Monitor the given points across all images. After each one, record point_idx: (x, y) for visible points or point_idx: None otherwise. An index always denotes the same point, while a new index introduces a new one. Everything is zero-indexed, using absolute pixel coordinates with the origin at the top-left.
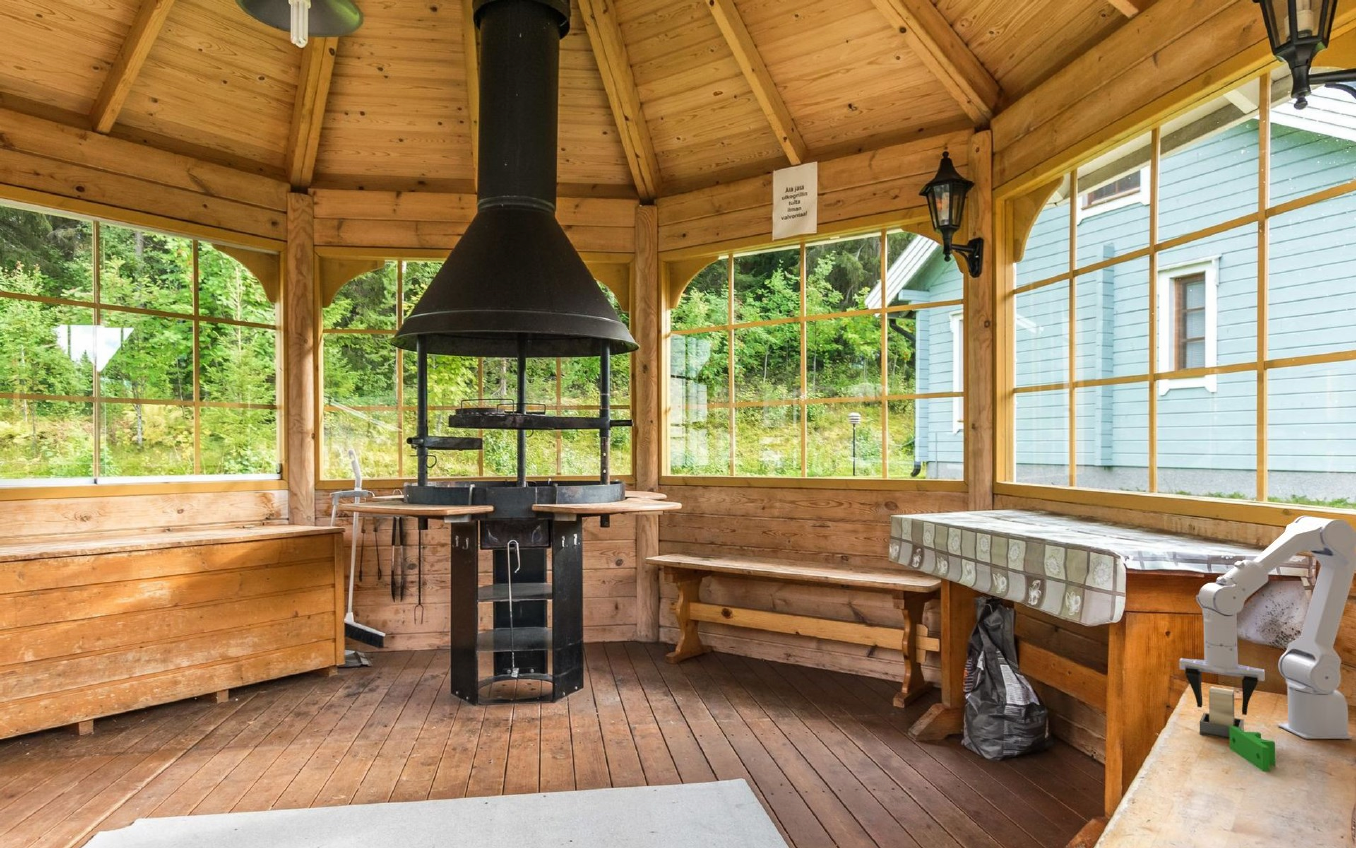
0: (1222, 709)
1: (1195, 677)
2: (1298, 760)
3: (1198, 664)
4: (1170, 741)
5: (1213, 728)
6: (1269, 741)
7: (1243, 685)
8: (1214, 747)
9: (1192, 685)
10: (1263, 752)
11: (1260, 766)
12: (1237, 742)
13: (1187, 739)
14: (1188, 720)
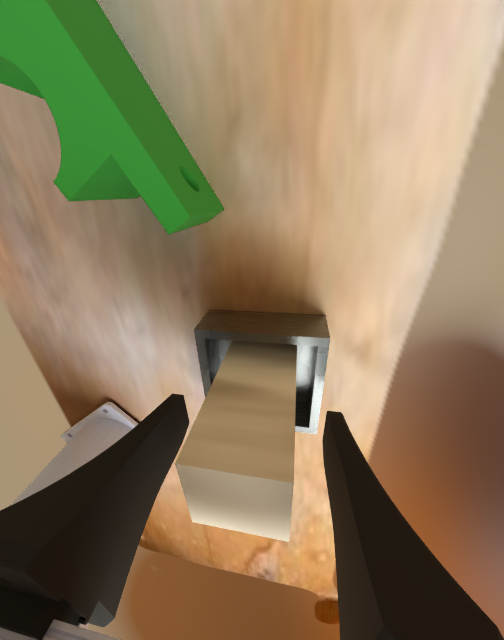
0: (243, 399)
1: (410, 625)
2: (52, 227)
3: None
4: (458, 129)
5: (282, 326)
6: None
7: (53, 528)
8: (271, 182)
9: (401, 527)
10: None
11: None
12: (168, 146)
13: (371, 222)
14: (354, 420)
